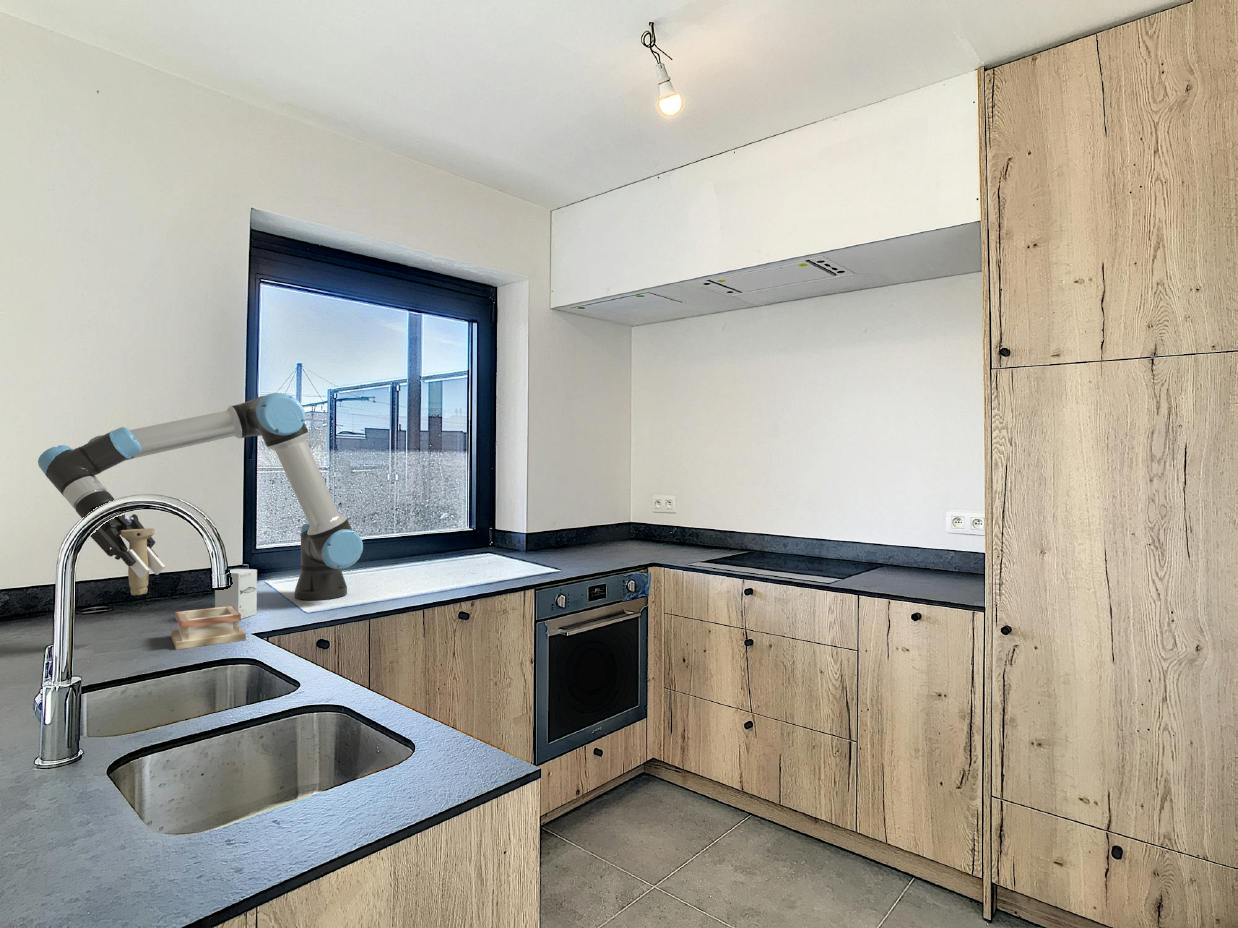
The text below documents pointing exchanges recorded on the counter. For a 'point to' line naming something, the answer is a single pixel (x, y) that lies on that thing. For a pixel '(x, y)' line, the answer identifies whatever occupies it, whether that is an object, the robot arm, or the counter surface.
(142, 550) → the handle
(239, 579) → the supplement box
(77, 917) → the counter surface
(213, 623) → the board
